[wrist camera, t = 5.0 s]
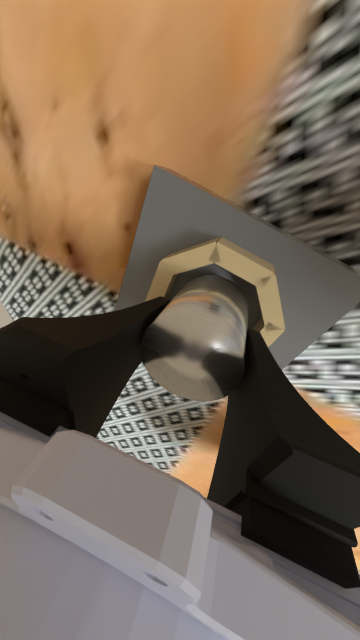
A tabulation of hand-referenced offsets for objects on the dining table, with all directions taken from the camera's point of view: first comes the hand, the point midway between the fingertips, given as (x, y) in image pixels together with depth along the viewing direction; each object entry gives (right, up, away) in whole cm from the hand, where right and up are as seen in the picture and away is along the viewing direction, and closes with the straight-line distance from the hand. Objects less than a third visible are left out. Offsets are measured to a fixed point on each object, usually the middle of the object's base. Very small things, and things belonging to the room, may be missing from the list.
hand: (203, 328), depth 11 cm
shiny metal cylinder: (+1, +1, +1) cm, 2 cm away
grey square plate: (+2, +3, +4) cm, 5 cm away
